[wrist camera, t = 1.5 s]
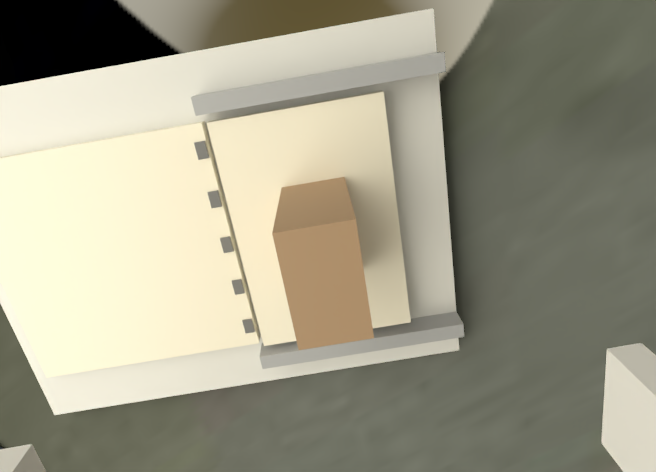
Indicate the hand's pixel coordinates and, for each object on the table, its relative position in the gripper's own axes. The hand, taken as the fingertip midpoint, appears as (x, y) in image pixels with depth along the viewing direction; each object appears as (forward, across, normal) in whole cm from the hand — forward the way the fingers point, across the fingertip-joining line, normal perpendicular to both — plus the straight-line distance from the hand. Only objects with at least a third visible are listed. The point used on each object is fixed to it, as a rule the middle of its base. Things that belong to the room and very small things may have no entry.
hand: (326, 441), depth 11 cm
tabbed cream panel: (+14, 0, 0) cm, 14 cm away
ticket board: (+15, -5, 0) cm, 16 cm away
